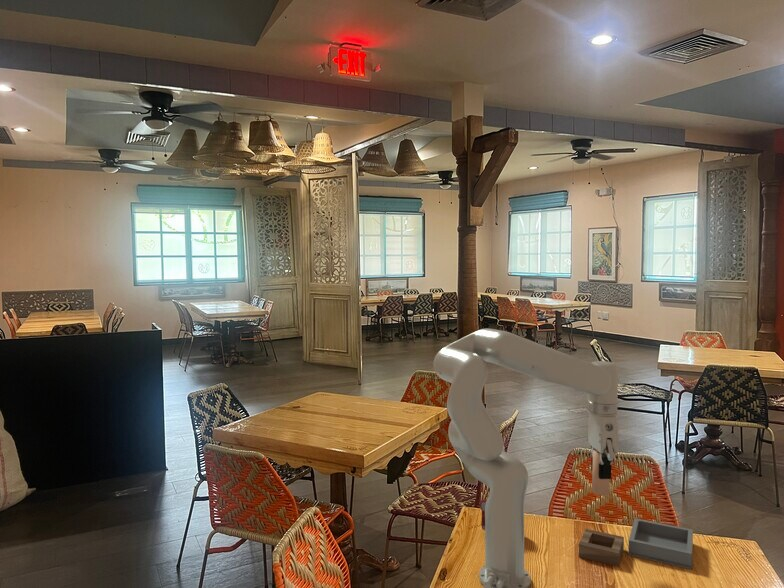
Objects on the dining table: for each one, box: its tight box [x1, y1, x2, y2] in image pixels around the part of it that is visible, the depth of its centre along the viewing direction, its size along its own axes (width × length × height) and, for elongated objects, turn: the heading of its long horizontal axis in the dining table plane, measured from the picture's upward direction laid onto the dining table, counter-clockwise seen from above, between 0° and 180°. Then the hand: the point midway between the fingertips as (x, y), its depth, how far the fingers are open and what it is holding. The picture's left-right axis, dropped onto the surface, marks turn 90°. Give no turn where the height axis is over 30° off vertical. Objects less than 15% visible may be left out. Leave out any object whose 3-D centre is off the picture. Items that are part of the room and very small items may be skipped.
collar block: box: [578, 528, 625, 567], centre depth 149 cm, size 10×10×4 cm
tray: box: [627, 517, 694, 570], centre depth 151 cm, size 15×15×4 cm
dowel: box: [591, 450, 611, 497], centre depth 148 cm, size 4×4×11 cm
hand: (601, 474), depth 148 cm, fingers closed on dowel, 4 cm apart
